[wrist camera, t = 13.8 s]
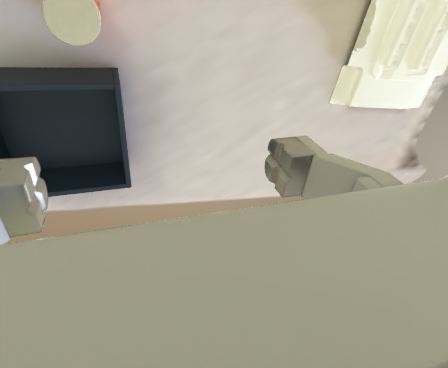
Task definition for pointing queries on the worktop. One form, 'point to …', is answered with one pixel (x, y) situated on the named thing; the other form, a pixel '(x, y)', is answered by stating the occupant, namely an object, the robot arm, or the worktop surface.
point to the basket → (66, 126)
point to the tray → (395, 55)
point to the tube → (73, 20)
